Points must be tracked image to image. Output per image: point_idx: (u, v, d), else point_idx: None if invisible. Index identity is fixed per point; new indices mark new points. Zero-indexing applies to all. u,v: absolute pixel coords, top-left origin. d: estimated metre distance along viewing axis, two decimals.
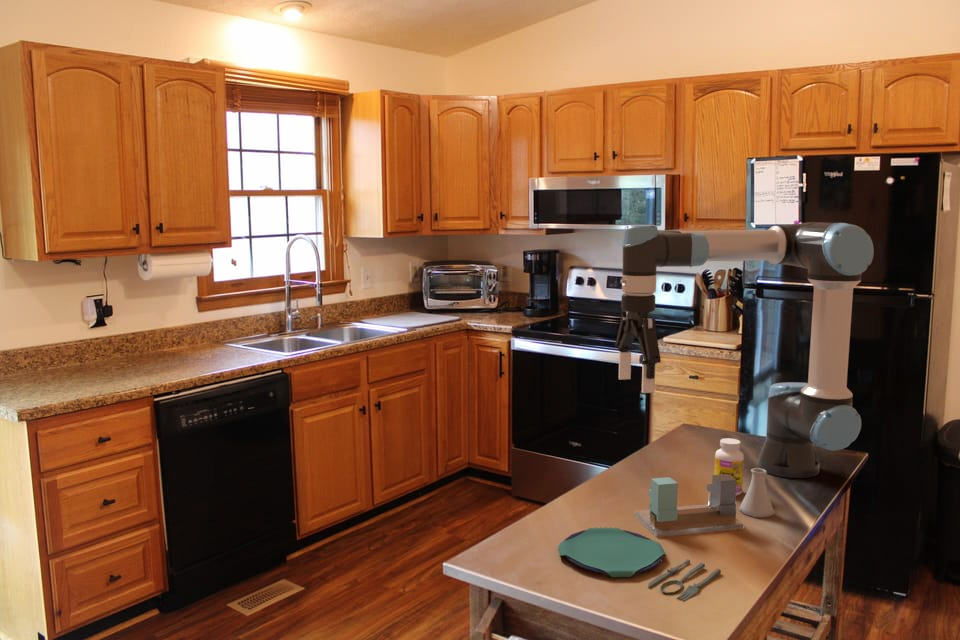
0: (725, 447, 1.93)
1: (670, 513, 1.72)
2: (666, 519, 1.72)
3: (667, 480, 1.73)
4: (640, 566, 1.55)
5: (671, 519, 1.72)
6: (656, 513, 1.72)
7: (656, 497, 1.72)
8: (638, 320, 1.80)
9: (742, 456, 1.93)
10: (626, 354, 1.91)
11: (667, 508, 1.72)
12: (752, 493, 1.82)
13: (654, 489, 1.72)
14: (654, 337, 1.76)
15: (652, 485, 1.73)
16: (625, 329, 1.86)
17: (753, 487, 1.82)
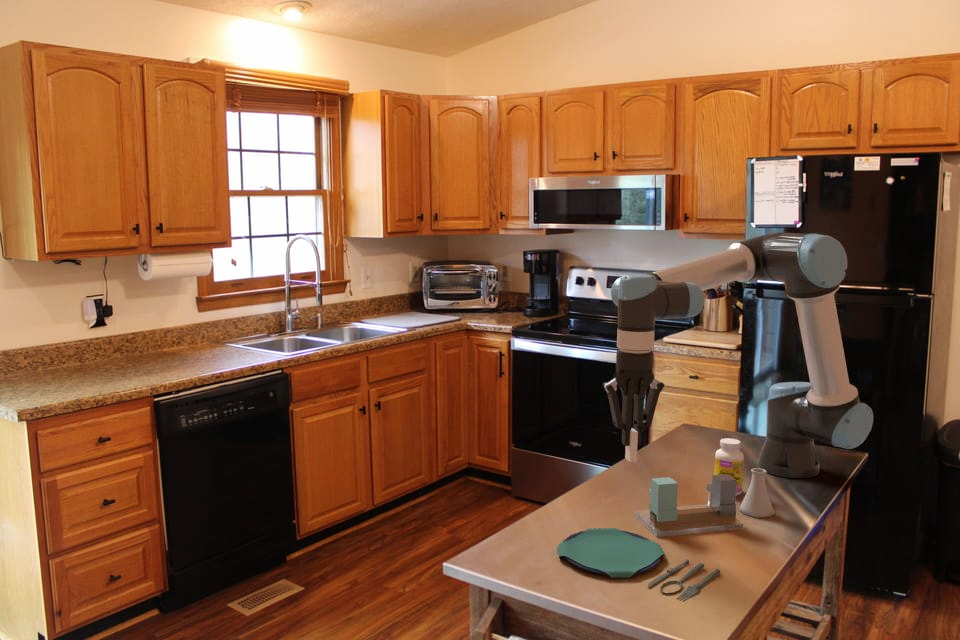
0: (725, 447, 1.93)
1: (670, 513, 1.72)
2: (666, 519, 1.72)
3: (667, 480, 1.73)
4: (639, 567, 1.55)
5: (671, 519, 1.72)
6: (656, 513, 1.72)
7: (656, 497, 1.72)
8: None
9: (742, 456, 1.93)
10: None
11: (667, 508, 1.72)
12: (752, 492, 1.82)
13: (654, 489, 1.72)
14: (612, 404, 1.67)
15: (652, 485, 1.73)
16: None
17: (753, 487, 1.82)
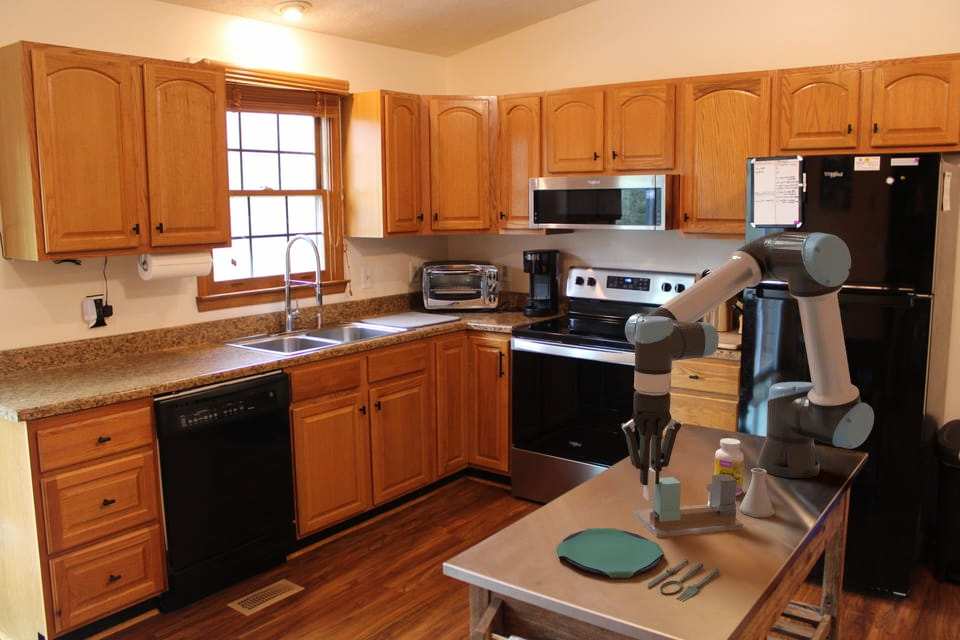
0: (725, 447, 1.93)
1: (673, 513, 1.72)
2: (669, 519, 1.72)
3: (670, 480, 1.73)
4: (639, 566, 1.55)
5: (673, 519, 1.72)
6: (659, 513, 1.72)
7: (659, 497, 1.72)
8: None
9: (742, 456, 1.93)
10: None
11: (670, 508, 1.72)
12: (752, 492, 1.82)
13: (657, 489, 1.73)
14: (630, 444, 1.69)
15: (655, 485, 1.74)
16: None
17: (753, 487, 1.82)
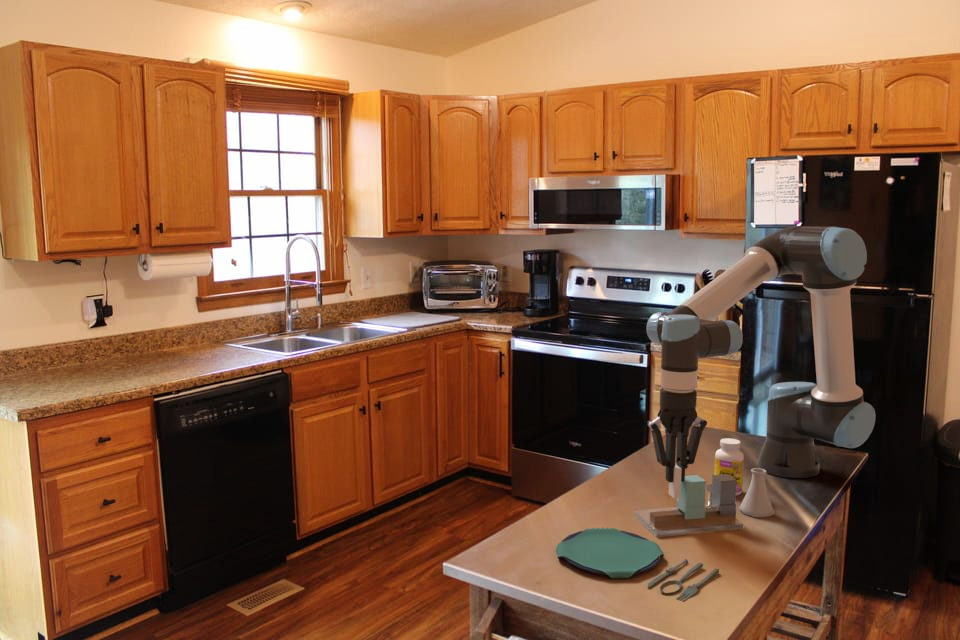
0: (725, 447, 1.93)
1: (698, 511, 1.73)
2: (694, 517, 1.73)
3: (695, 478, 1.74)
4: (639, 566, 1.55)
5: (698, 517, 1.73)
6: (684, 511, 1.73)
7: (684, 495, 1.73)
8: None
9: (742, 456, 1.93)
10: None
11: (695, 506, 1.73)
12: (752, 492, 1.82)
13: (682, 487, 1.74)
14: (656, 442, 1.70)
15: None
16: None
17: (753, 487, 1.82)
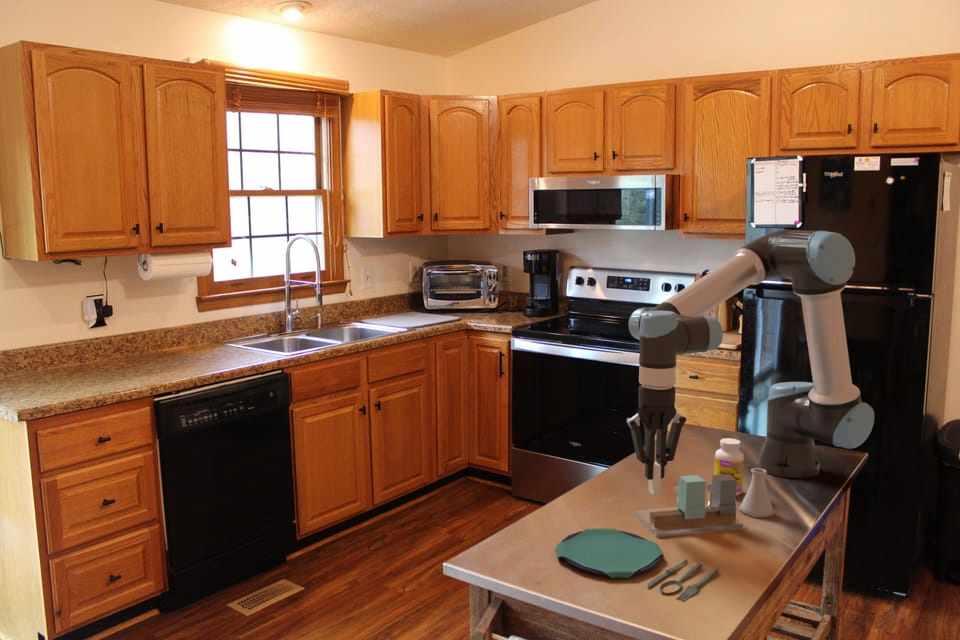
0: (725, 447, 1.93)
1: (698, 511, 1.73)
2: (694, 517, 1.73)
3: (695, 478, 1.74)
4: (638, 567, 1.55)
5: (698, 517, 1.73)
6: (684, 511, 1.73)
7: (684, 495, 1.73)
8: None
9: (742, 456, 1.93)
10: None
11: (695, 506, 1.73)
12: (752, 492, 1.82)
13: (682, 487, 1.74)
14: (635, 439, 1.69)
15: (680, 483, 1.75)
16: None
17: (753, 487, 1.82)
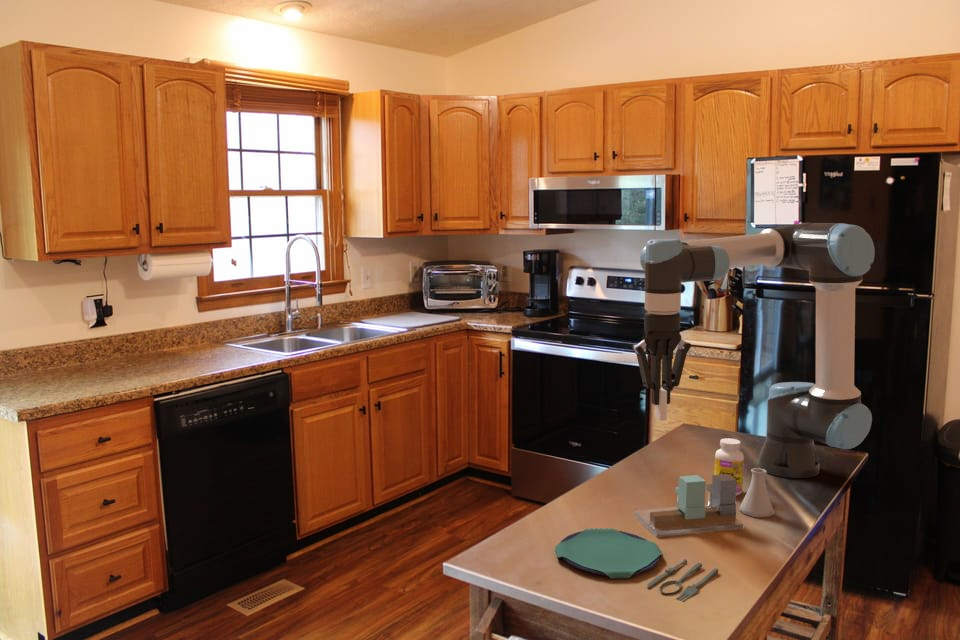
0: (725, 447, 1.93)
1: (698, 511, 1.73)
2: (694, 517, 1.73)
3: (695, 478, 1.74)
4: (638, 567, 1.55)
5: (698, 517, 1.73)
6: (684, 511, 1.73)
7: (684, 495, 1.73)
8: None
9: (742, 456, 1.93)
10: None
11: (695, 506, 1.73)
12: (752, 492, 1.82)
13: (682, 487, 1.74)
14: (641, 364, 1.73)
15: (680, 483, 1.75)
16: None
17: (753, 487, 1.82)
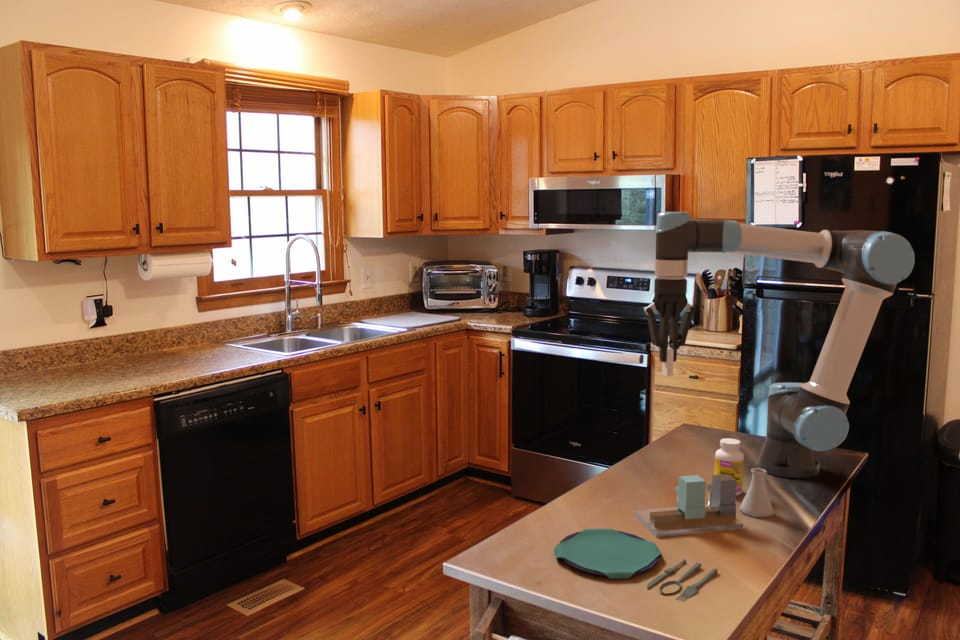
0: (725, 447, 1.93)
1: (698, 511, 1.73)
2: (694, 517, 1.73)
3: (695, 478, 1.74)
4: (637, 567, 1.55)
5: (698, 517, 1.73)
6: (684, 511, 1.73)
7: (684, 495, 1.73)
8: None
9: (742, 456, 1.93)
10: None
11: (695, 506, 1.73)
12: (752, 492, 1.82)
13: (682, 487, 1.74)
14: (651, 324, 1.92)
15: (680, 483, 1.75)
16: None
17: (753, 487, 1.82)
